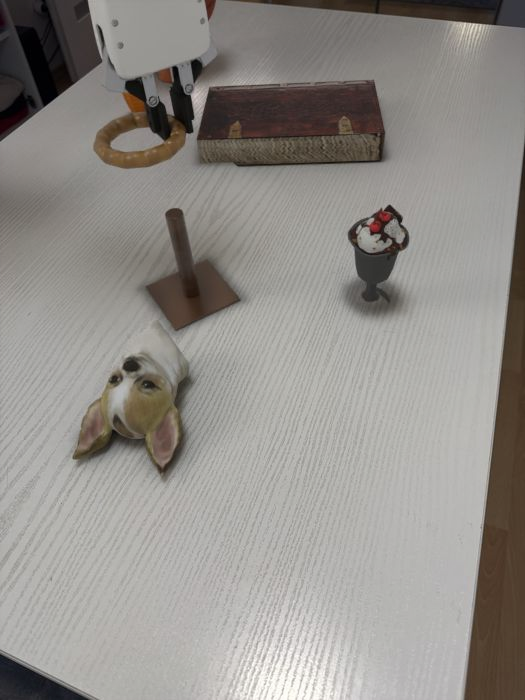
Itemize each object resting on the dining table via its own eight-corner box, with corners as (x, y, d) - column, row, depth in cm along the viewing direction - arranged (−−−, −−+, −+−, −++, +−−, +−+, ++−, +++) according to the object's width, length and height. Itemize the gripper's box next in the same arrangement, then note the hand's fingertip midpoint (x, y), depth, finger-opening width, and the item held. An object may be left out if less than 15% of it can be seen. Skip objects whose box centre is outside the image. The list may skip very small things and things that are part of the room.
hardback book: (371, 104, 98) (374, 76, 94) (381, 162, 86) (385, 132, 82) (212, 111, 100) (209, 83, 96) (201, 168, 88) (196, 139, 84)
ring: (117, 182, 53) (112, 168, 52) (84, 142, 59) (79, 128, 58) (202, 149, 56) (200, 135, 55) (163, 114, 62) (160, 100, 60)
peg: (176, 336, 65) (153, 251, 55) (146, 292, 70) (120, 207, 60) (241, 305, 68) (230, 218, 58) (207, 265, 73) (192, 180, 63)
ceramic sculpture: (202, 315, 55) (153, 449, 46) (215, 364, 62) (175, 488, 53) (105, 304, 57) (42, 430, 48) (128, 352, 64) (77, 470, 55)
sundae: (355, 326, 64) (366, 224, 53) (334, 289, 69) (341, 186, 57) (406, 313, 65) (428, 209, 54) (383, 277, 70) (398, 173, 58)
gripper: (196, -106, 49) (221, 97, 63) (24, -68, 44) (92, 142, 58) (238, -92, 45) (254, 123, 59) (52, -48, 40) (119, 173, 54)
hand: (173, 131), depth 58 cm, fingers closed on ring, 2 cm apart
